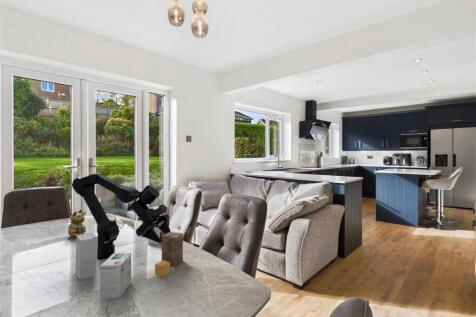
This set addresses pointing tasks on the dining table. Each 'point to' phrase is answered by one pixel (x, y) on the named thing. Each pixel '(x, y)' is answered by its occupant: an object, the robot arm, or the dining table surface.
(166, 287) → the dining table surface
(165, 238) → the brown rectangular block
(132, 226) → the dining table surface
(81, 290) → the dining table surface
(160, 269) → the orange cube
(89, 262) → the skincare box
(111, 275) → the light bulb box
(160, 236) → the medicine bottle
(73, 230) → the decorative figurine
